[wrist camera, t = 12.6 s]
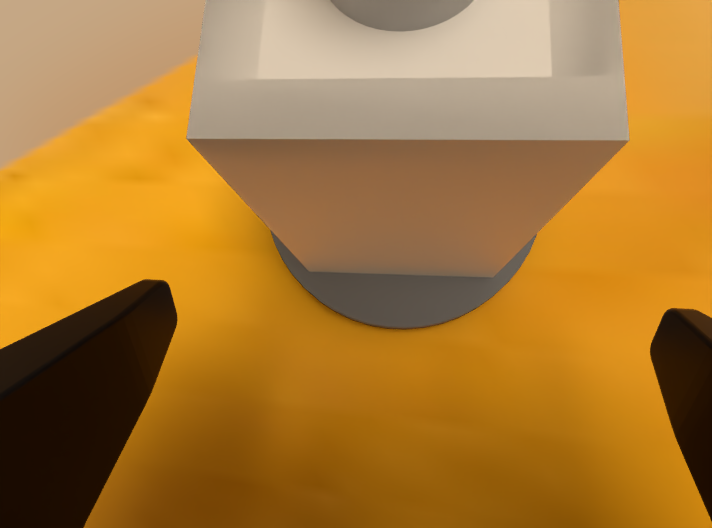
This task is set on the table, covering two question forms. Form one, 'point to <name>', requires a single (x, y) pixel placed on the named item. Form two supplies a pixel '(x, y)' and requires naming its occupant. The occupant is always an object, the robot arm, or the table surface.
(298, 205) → the rubber stamp
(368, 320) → the gray disc
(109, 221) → the table surface
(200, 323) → the table surface
